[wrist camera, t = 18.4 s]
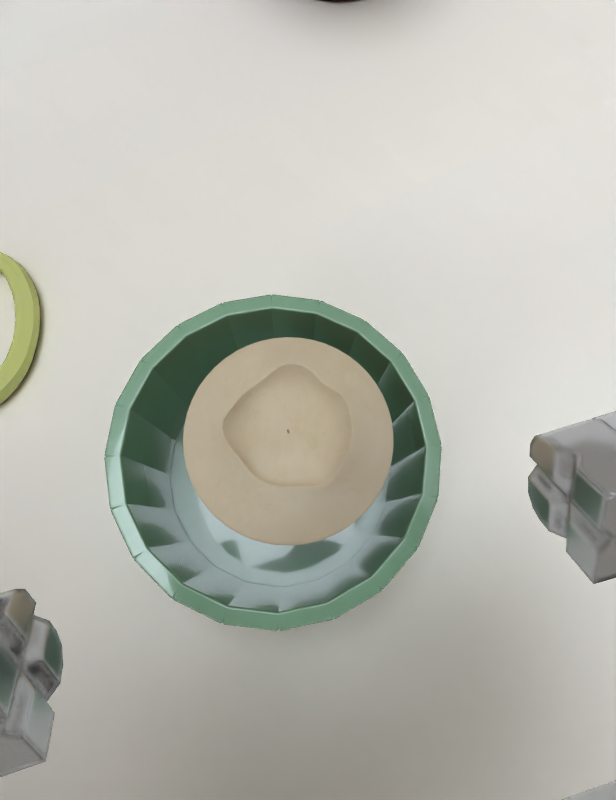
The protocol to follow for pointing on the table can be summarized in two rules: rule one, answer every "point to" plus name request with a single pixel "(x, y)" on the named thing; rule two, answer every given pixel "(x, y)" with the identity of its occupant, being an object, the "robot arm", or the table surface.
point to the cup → (223, 547)
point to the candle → (288, 441)
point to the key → (19, 326)
